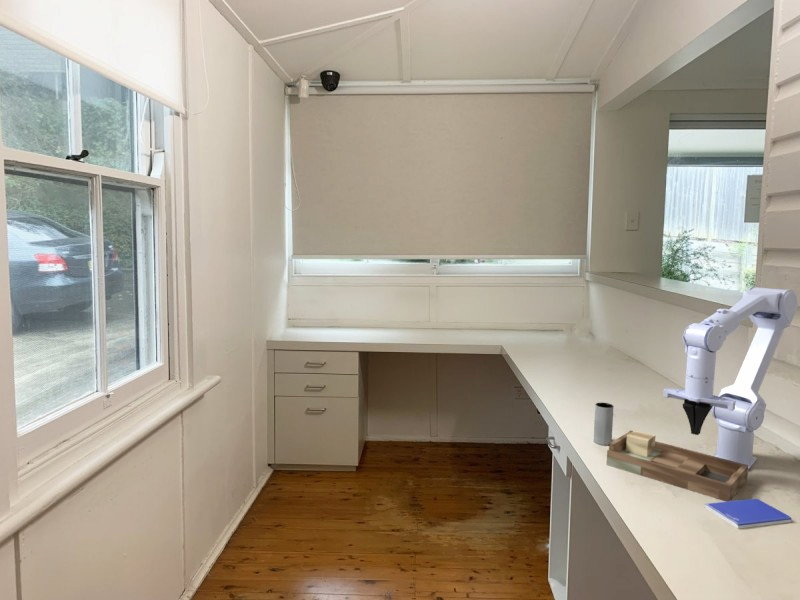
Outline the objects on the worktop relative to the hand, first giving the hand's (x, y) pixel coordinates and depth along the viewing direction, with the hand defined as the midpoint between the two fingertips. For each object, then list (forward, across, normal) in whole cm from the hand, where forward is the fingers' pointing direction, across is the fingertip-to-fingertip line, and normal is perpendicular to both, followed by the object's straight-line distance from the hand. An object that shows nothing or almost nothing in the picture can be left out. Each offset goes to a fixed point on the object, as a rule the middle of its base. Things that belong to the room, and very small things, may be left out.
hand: (695, 433), depth 125 cm
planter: (+10, -23, +3) cm, 25 cm away
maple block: (+7, -12, -1) cm, 14 cm away
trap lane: (+9, -3, -3) cm, 10 cm away
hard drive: (+10, +14, -14) cm, 22 cm away
